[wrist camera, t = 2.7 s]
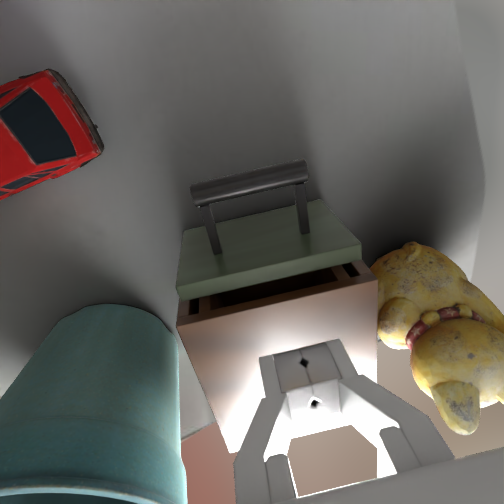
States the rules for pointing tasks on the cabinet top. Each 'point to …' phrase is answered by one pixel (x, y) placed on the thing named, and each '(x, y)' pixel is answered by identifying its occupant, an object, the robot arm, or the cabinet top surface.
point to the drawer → (261, 242)
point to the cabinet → (277, 343)
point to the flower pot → (95, 414)
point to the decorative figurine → (442, 331)
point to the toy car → (42, 131)
